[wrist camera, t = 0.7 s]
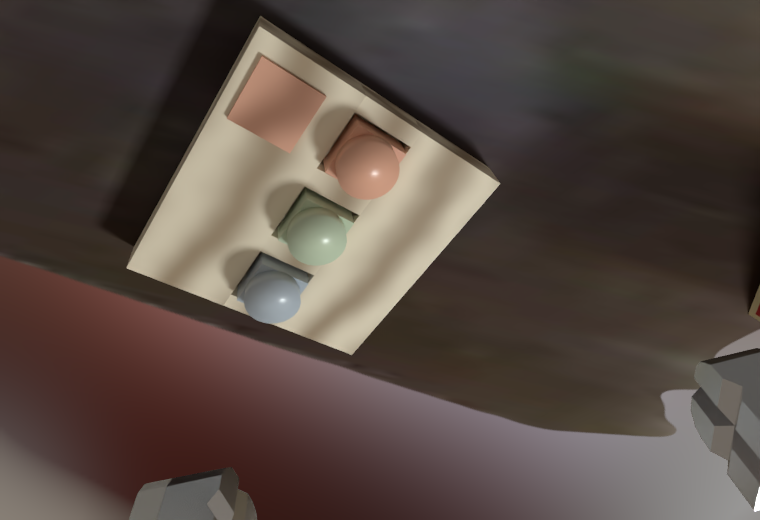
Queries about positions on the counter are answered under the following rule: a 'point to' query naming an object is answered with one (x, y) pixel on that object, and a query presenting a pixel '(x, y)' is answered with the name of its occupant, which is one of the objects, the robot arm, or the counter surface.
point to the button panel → (287, 181)
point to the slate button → (272, 289)
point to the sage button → (315, 229)
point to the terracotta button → (364, 160)
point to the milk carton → (756, 306)
